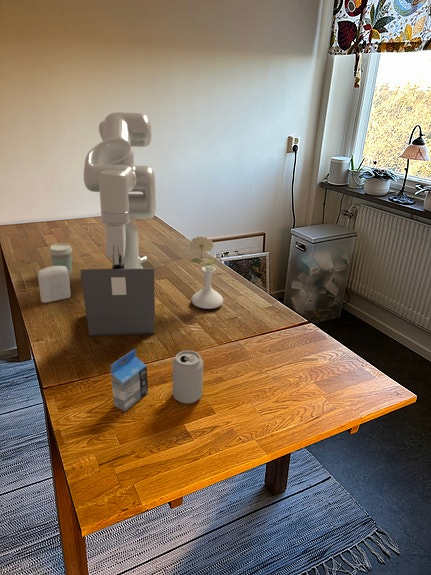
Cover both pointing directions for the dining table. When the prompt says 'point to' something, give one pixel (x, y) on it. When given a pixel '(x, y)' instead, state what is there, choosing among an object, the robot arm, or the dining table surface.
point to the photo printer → (54, 283)
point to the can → (187, 377)
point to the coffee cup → (61, 255)
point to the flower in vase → (207, 295)
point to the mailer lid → (118, 292)
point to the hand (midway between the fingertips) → (118, 277)
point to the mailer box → (121, 325)
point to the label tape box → (128, 381)
